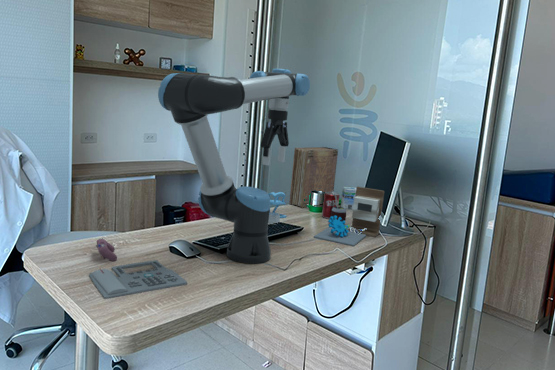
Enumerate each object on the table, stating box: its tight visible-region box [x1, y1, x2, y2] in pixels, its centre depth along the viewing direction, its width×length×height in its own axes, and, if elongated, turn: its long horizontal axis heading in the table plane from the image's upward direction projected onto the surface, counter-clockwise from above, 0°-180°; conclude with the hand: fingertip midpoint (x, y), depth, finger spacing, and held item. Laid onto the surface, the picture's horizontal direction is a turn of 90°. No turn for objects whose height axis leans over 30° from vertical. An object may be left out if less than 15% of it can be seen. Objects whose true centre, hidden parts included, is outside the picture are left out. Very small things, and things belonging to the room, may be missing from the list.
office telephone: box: [88, 259, 188, 300], centre depth 137 cm, size 23×3×20 cm
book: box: [288, 146, 339, 209], centre depth 252 cm, size 25×9×30 cm, turn 136°
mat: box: [313, 226, 367, 247], centre depth 197 cm, size 18×17×1 cm
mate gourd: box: [331, 191, 347, 222], centre depth 215 cm, size 8×8×15 cm
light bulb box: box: [340, 186, 356, 210], centre depth 252 cm, size 11×7×11 cm, turn 95°
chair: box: [267, 191, 287, 219], centre depth 221 cm, size 8×8×12 cm
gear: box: [327, 216, 351, 237], centre depth 198 cm, size 11×6×10 cm
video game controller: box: [95, 237, 118, 262], centre depth 151 cm, size 10×5×7 cm, turn 24°
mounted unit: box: [347, 186, 385, 238], centre depth 205 cm, size 8×12×19 cm, turn 64°
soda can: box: [321, 191, 340, 220], centre depth 227 cm, size 7×7×12 cm
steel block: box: [268, 211, 281, 225], centre depth 210 cm, size 5×5×4 cm
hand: (273, 163), depth 189 cm, fingers open, 13 cm apart
